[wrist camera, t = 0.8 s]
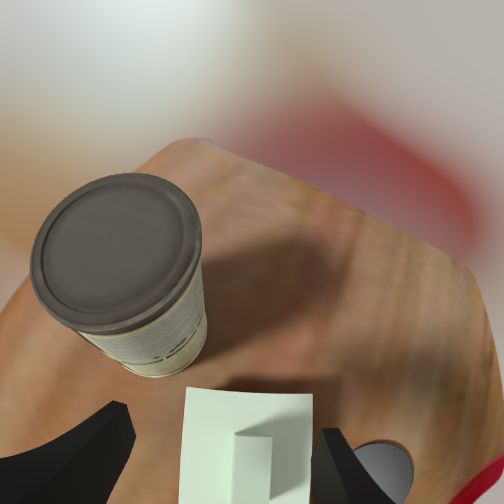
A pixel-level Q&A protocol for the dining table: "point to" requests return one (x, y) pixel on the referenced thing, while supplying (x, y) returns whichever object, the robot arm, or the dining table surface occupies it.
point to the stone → (387, 469)
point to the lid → (246, 448)
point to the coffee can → (126, 271)
